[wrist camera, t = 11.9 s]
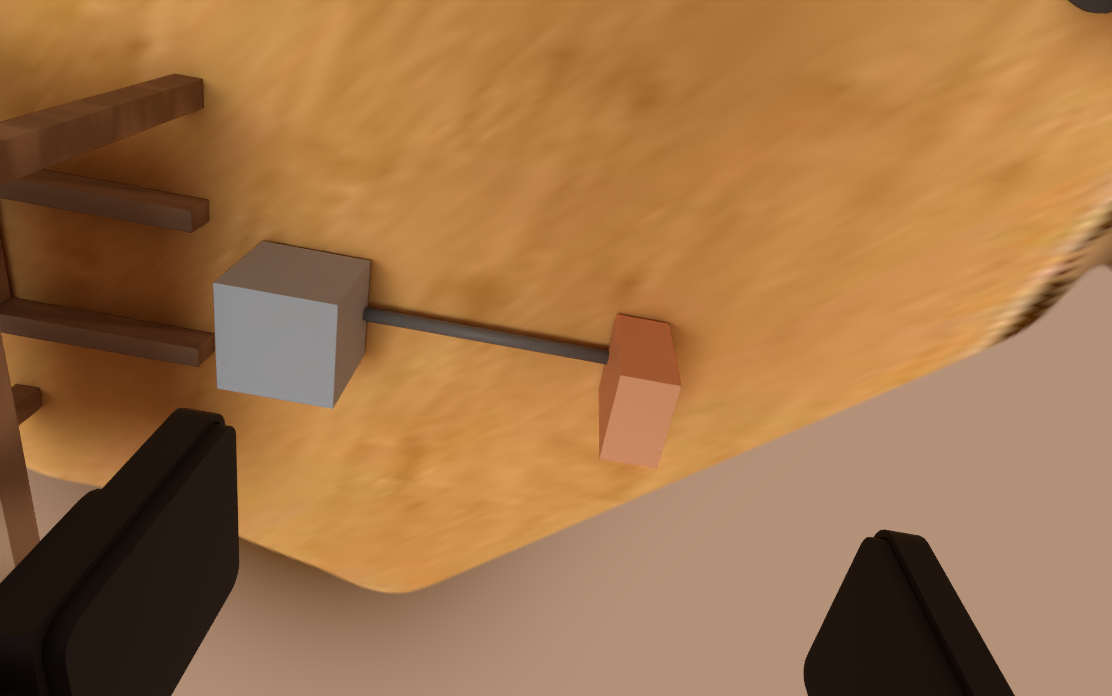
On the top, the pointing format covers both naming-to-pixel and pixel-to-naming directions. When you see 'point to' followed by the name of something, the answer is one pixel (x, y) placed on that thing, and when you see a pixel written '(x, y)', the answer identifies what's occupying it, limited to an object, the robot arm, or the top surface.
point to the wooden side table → (17, 174)
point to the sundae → (1094, 5)
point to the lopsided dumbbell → (342, 313)
